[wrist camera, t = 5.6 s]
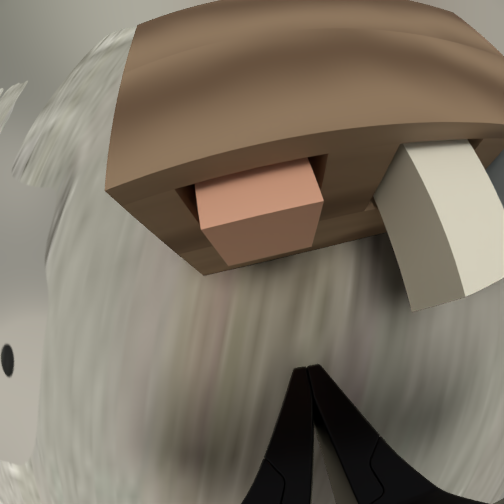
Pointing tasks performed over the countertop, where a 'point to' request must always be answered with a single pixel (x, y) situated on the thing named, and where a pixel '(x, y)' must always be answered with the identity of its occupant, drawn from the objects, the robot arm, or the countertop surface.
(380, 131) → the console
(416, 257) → the key ivory
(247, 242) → the key terracotta
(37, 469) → the countertop surface
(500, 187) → the key slate
